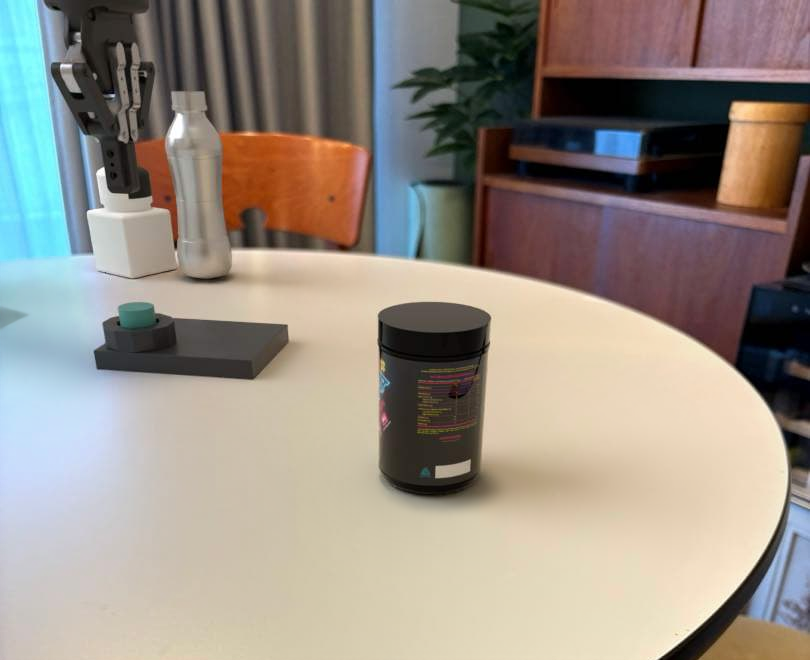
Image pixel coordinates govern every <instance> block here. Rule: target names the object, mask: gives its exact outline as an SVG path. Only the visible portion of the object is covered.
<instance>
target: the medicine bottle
mask: <svg viewBox="0 0 810 660" xmlns="http://www.w3.org/2000/svg"><path fill="white" fill-rule="evenodd" d="M137 167H138V174H139V182H140V189H139V190H138V191H137V192H134V193H130V194H116V193H111V192H110V191H109V190H108V188H107V183H106V176H105V169H104V166H103V167H101V168H100V169H98V170H97V171H96V173H95V175H96V176H95V177H96V182H97V183H96V184H97V188H98V195H99V200H100V204H101V205H103V207H100V208H94V209H89V210H87V212H86V218H87V223H88V224H87V225H88V230H89V235H90V240H91V248H92V253H93V257H94V264H95V265H94V266H95V269H96V271H98V272H102V273H105V272H106V274H110V275H113V276H114V275H115V276H118V277H119V276H120V277H122V278H128V279H137V278H138V279H139V278H141V277H147V276H150V275H155V274H160V273H164V272H169V271H173V270H174V271H175V270H176V269H177V259H176V258H177V257H176V250H175V242H174V235H173V234H174V233H173V225H172V217H171V212H170V210H169V209H167V208H162V207H155V206H151V204H152V203H153V202H154V200H153V193H152V192H153V191H152V186H151V178H150V177H151V176H150V172H149V171H148V170H147V169H146V168H144V167H142V166H140V165H137Z"/></svg>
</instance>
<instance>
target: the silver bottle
mask: <svg viewBox="0 0 810 660" xmlns="http://www.w3.org/2000/svg"><path fill="white" fill-rule="evenodd" d="M170 96H171V110H172V111H174V113H175V114H174V118H173V120H172V123H171V124H170V125H169V127H168V130H167V133H166V135H165V139H164V148H165V154H166V158H167V162H168V166H169V170H170V174H171V175H170V176H171V179H172V184H173V190H174V195H175V197H176V198H175V203H176V209H177V210H176V213H177V236H178V237H177V241H176V242H177V243H176V258H177V261H178V265H179V268H180V270H181V271H182V273H183V274H184V276H187V277H191V278H197V279H202V280H203V279H204V280H209V279H215V278H219V277H223V276H226V275H228V274H229V273H230V271H231V269H232V265H233V251H232V246H231V241H230V239H229V236H228V231H227V224H226V218H225V212H224V206H223V205H224V203H223V182H222V177H223V158H224V156H223V153H224V150H223V149H224V148H223V147H224V145H223V142H222V139H221V136H220V134H219V133H218V131H217V130H216V128H215V126H214V125H213V124H212V123H211V121H210V120H209V119H208V117H207V115H206V111H208V105H207V101H206V93H205V91H200V90H199V91H197V90H173V91H171V93H170Z"/></svg>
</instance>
